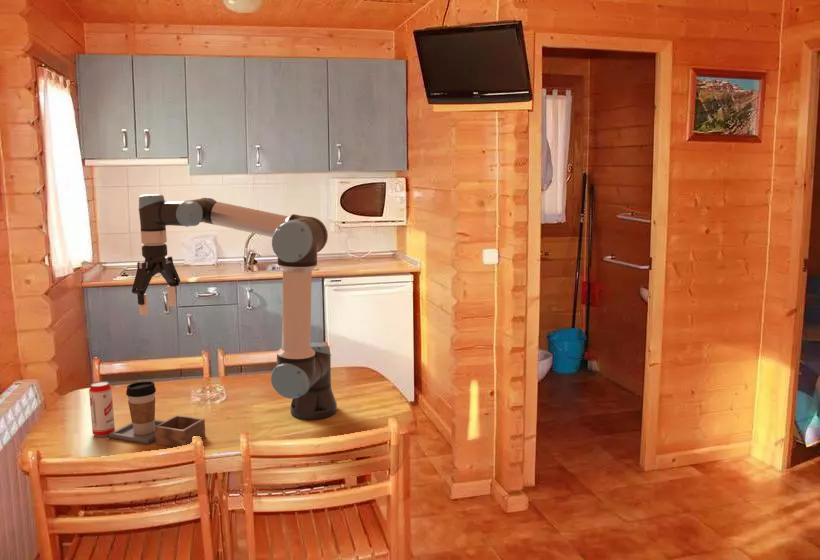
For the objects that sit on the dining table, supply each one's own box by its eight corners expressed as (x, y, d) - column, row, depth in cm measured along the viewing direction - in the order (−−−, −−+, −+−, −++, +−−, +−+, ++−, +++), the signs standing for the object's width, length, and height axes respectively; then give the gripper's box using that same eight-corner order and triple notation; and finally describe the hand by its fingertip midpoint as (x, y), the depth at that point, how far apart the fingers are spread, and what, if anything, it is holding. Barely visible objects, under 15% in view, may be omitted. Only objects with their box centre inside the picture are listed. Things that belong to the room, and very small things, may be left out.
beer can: (118, 429, 224) (114, 380, 221) (110, 437, 218) (106, 386, 215) (97, 430, 224) (93, 380, 221) (89, 438, 218) (84, 387, 215)
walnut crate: (205, 438, 218) (204, 419, 217) (184, 450, 209) (183, 431, 207) (178, 433, 221) (176, 414, 220) (155, 446, 212) (154, 426, 211)
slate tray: (178, 429, 225) (178, 423, 224) (147, 446, 212) (147, 439, 211) (142, 423, 230) (141, 417, 229) (109, 439, 217) (109, 433, 216)
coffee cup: (149, 437, 215) (145, 389, 213) (123, 435, 217) (119, 387, 215) (164, 427, 223) (160, 380, 221) (139, 425, 225) (135, 378, 223)
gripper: (170, 238, 241) (173, 301, 245) (116, 248, 218) (121, 317, 222) (188, 239, 238) (192, 303, 242) (136, 249, 215) (141, 319, 219)
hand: (158, 310), depth 232 cm, fingers open, 13 cm apart
